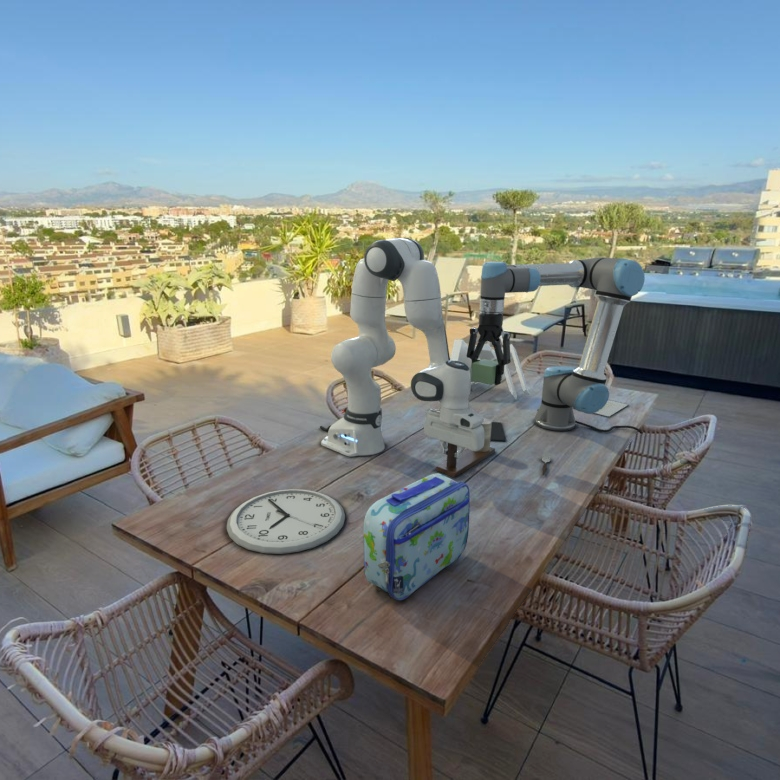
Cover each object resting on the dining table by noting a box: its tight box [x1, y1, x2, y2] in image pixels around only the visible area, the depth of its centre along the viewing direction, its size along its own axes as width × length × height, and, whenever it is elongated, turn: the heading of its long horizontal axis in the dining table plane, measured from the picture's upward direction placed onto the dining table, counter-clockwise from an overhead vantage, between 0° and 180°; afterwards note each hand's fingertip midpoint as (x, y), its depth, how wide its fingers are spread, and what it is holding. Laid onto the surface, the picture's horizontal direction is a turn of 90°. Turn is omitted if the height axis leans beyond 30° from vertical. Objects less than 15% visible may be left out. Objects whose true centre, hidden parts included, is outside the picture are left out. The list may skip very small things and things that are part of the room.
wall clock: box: [226, 488, 346, 555], centre depth 135 cm, size 30×2×30 cm
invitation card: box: [595, 399, 629, 418], centre depth 226 cm, size 21×1×15 cm
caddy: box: [435, 417, 496, 478], centre depth 170 cm, size 7×25×12 cm, turn 140°
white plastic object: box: [450, 326, 531, 400], centre depth 245 cm, size 37×45×31 cm
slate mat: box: [490, 421, 506, 443], centre depth 197 cm, size 18×18×1 cm
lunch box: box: [362, 472, 471, 601], centre depth 112 cm, size 26×11×21 cm, turn 134°
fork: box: [541, 451, 552, 476], centre depth 168 cm, size 3×16×2 cm, turn 160°
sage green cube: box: [471, 359, 503, 386], centre depth 171 cm, size 7×7×6 cm
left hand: (451, 455), depth 163 cm, fingers closed on caddy, 3 cm apart
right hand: (486, 381), depth 172 cm, fingers closed on sage green cube, 7 cm apart
